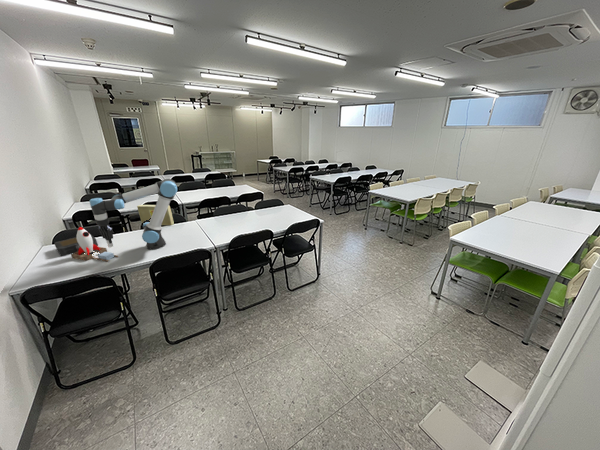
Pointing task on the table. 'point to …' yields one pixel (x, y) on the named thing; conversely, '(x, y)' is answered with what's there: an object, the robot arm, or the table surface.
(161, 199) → the robot arm
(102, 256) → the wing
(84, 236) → the rocket
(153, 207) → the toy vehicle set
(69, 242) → the cash box
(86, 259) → the tray
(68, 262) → the table surface
